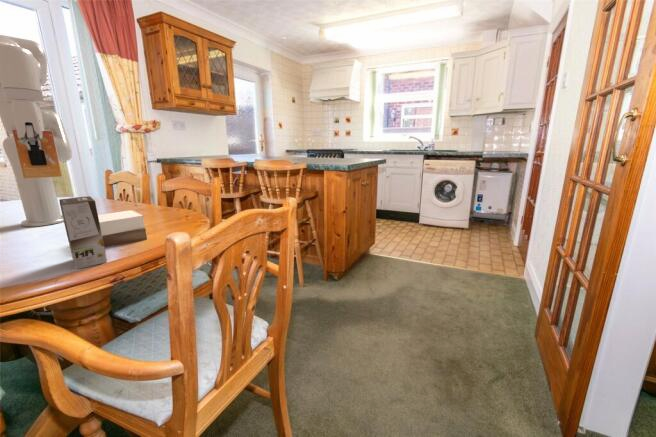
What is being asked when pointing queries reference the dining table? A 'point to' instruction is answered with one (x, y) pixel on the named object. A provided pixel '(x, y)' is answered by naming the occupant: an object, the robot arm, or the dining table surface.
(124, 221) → the top block
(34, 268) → the dining table surface
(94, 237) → the coffee box
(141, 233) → the base block
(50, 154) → the small box
